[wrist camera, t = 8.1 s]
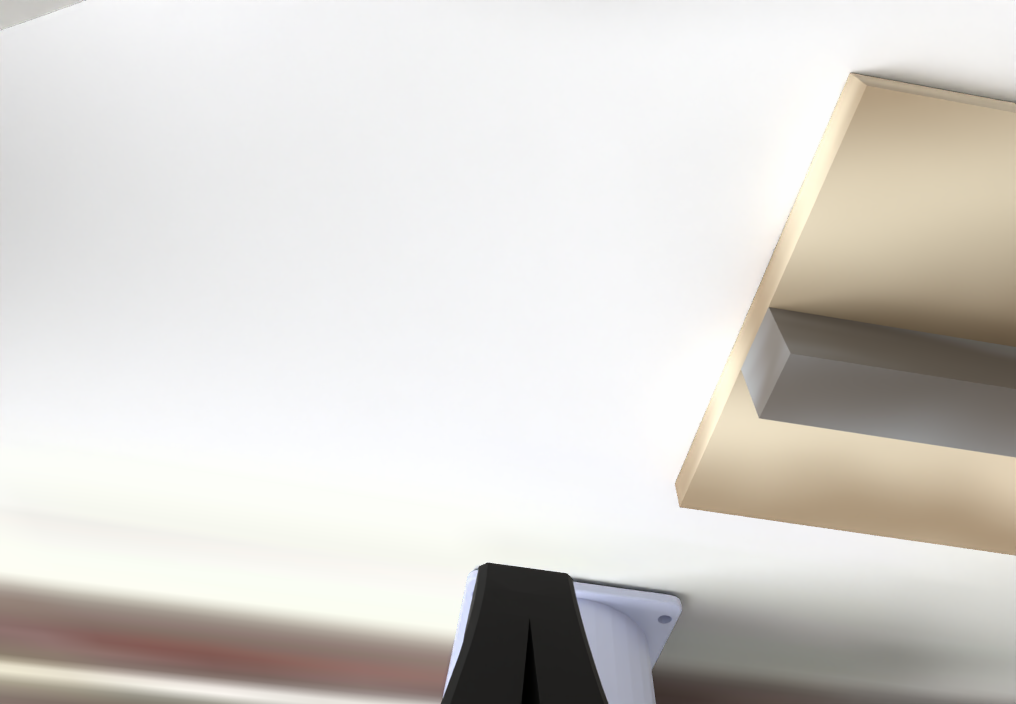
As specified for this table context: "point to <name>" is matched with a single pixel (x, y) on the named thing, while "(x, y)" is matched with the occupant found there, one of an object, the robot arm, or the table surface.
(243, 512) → the table surface
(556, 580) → the robot arm
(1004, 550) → the rail board
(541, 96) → the table surface
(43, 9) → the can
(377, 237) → the table surface
